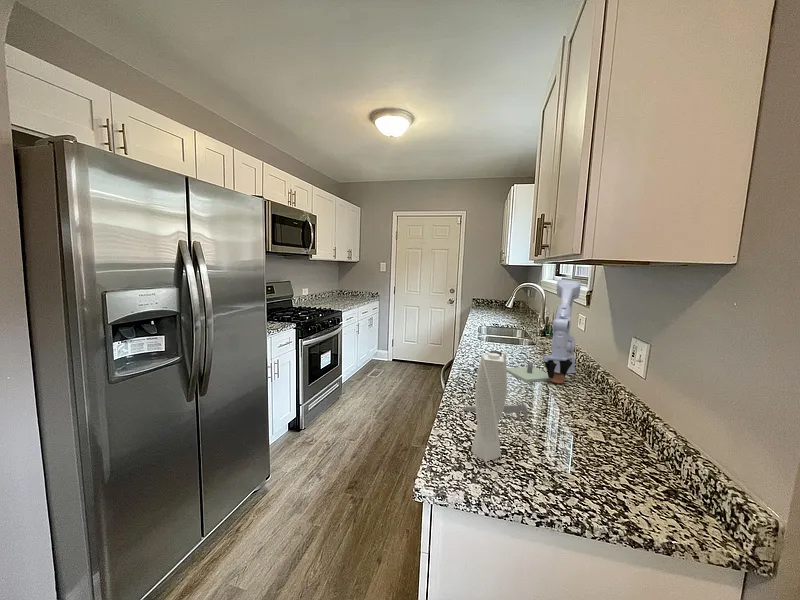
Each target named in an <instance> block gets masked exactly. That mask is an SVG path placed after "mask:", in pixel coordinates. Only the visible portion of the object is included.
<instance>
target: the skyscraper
mask: <svg viewBox="0 0 800 600" xmlns="http://www.w3.org/2000/svg"><path fill="white" fill-rule="evenodd" d="M507 354H508V353H507V350H504V351H503V354H502V355H501V356H500V355H499V354H496V353H490V352H489V353H487V354H485V353H484V352H482V354H481V357H480V363H479V366H478V369H477V371H478V372H477V376H476V383H475V392H474V403H475V404H474V405H475V408H476V412H475V418H476V424H477V425H476V429H475V433H474V437H473V438H474V439H473V441H472V445H471V450H470V452H471V453H473V455H475V454H476V455H475V456H477V457H478V458H479V457H480V458H479V459H481V460H482V459H483V460H484V463H485V462H486V463H488V462H487V461H489V462H491V461H490V460H492V461H494V460H493V459H495V460H497V459H502V454H501V443H500V442H501V441H500V434H499V426H498V425H499V423H500V420H501V418H502V414H503V409H504V405H506V401H507V394H508V392H507V391H508V372H507V370H506V368H507V356H508V355H507ZM499 457H500V458H499ZM496 458H497V459H496ZM483 460H482V461H483Z"/></svg>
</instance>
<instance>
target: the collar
mask: <svg viewBox="0 0 800 600" xmlns="http://www.w3.org/2000/svg"><path fill="white" fill-rule="evenodd" d="M564 379H565V377H564V374H562V373H558V372H554V376H553V378H550V377H549V381H548V382H552V383H556V384H564Z"/></svg>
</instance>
